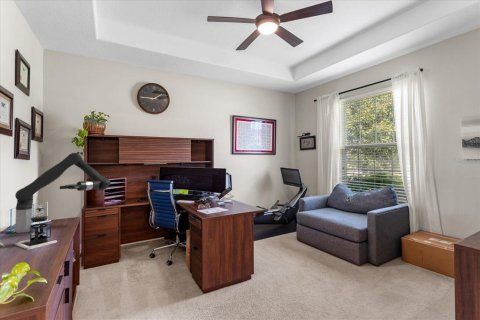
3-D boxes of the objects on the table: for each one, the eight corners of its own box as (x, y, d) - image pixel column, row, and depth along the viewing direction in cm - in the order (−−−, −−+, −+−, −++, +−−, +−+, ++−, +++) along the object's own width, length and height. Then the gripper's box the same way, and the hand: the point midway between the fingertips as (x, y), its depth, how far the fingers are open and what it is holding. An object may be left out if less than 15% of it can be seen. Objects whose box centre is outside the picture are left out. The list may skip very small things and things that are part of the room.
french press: (25, 246, 147) (26, 210, 148) (31, 241, 156) (32, 207, 156) (48, 243, 152) (49, 209, 152) (52, 239, 161) (53, 206, 161)
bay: (14, 244, 150) (14, 242, 150) (43, 237, 164) (43, 236, 164) (27, 249, 142) (27, 247, 142) (56, 242, 155) (56, 240, 155)
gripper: (80, 180, 190) (55, 182, 175) (89, 181, 184) (65, 183, 169) (79, 189, 190) (55, 192, 175) (89, 190, 184) (64, 193, 168)
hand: (60, 187), depth 172 cm, fingers closed
